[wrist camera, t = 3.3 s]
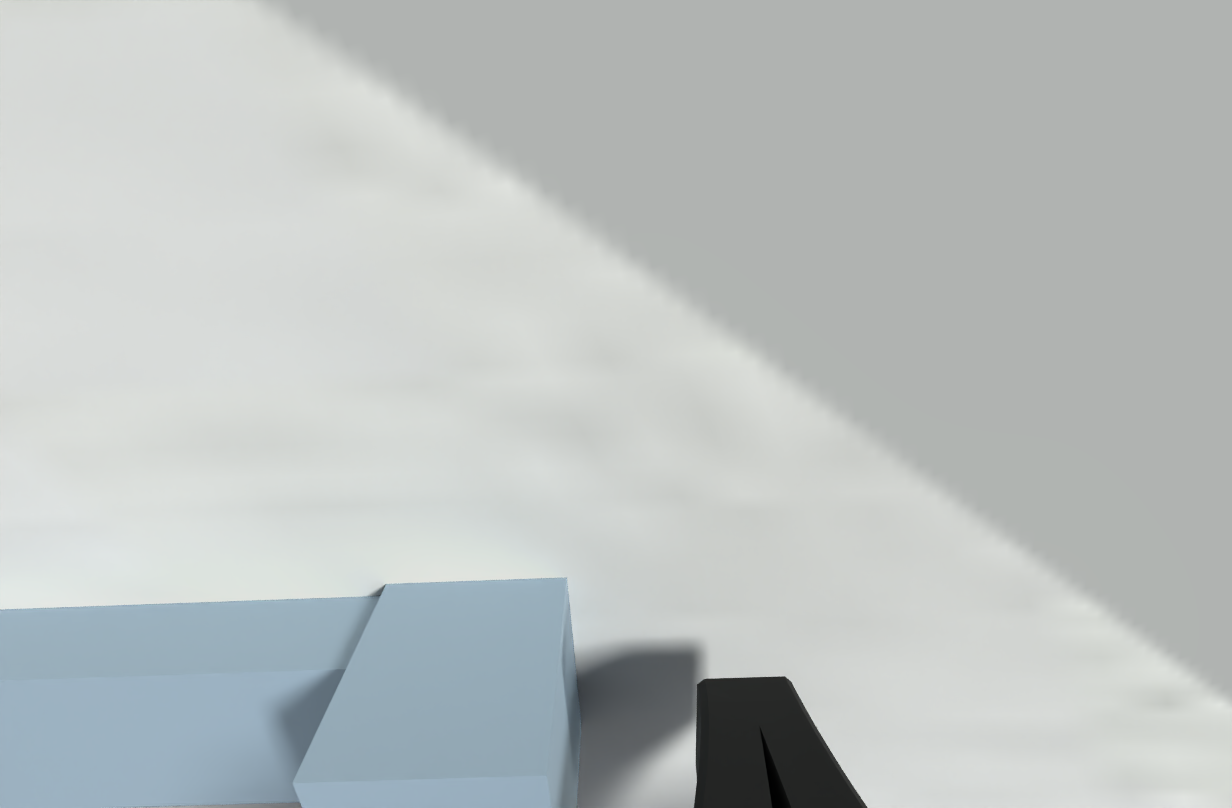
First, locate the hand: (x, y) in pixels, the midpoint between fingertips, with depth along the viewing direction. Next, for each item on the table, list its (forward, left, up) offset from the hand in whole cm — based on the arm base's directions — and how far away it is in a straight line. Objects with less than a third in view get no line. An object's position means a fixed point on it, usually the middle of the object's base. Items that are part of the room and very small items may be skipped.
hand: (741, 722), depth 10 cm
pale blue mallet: (0, +10, -2) cm, 11 cm away
